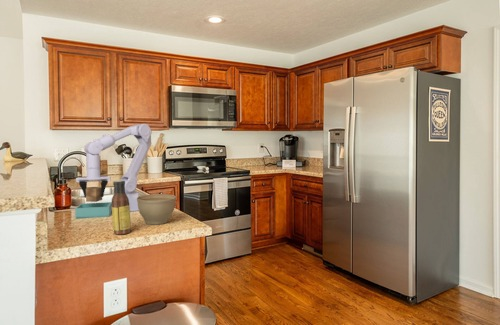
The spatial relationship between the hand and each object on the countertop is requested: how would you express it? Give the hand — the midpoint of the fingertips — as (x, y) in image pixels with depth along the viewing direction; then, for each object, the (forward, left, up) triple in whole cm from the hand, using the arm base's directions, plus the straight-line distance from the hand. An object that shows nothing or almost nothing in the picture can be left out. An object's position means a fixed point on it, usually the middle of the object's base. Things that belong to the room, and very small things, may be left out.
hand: (94, 197), depth 160 cm
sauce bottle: (-15, +37, -9) cm, 41 cm away
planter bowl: (-28, +23, -9) cm, 37 cm away
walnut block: (0, 0, -2) cm, 2 cm away
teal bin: (0, 0, -8) cm, 8 cm away
